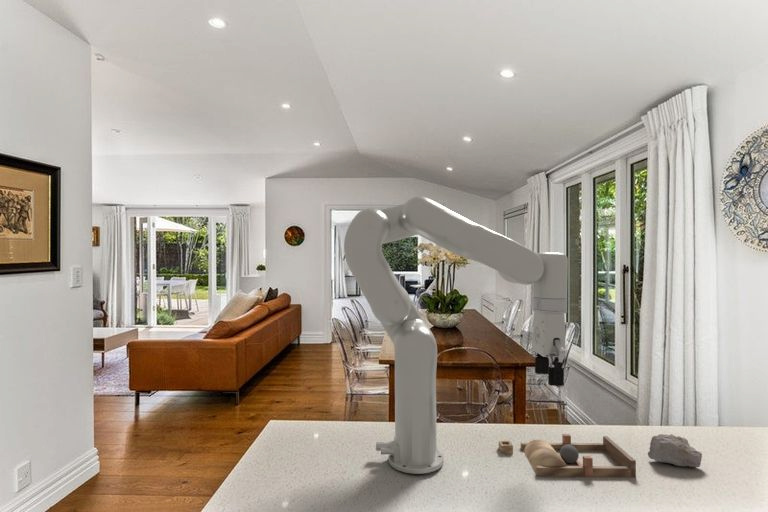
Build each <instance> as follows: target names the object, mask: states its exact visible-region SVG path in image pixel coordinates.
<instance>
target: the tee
mask: <svg viewBox="0 0 768 512" xmlns="http://www.w3.org/2000/svg"><path fill="white" fill-rule="evenodd" d="M498 449H499V451H500V453H501V454H505V455H506V454H514V445H513V443H512V442H511V440H498Z"/></svg>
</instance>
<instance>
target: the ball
mask: <svg viewBox="0 0 768 512" xmlns="http://www.w3.org/2000/svg"><path fill="white" fill-rule="evenodd" d="M559 456H560V457H561V458H562V460H563V461H564V462H565V463H566V464H570V465H571V464H574V463H575V462H576V461H577V460H578V459H579V451H577V449H576V448H575V447H574V446H572V445H564V446H562V447H561V449H560V450H559ZM578 461H579V460H578ZM575 464H576V463H575Z"/></svg>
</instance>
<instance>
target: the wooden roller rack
mask: <svg viewBox="0 0 768 512" xmlns="http://www.w3.org/2000/svg"><path fill="white" fill-rule="evenodd" d="M561 439H562V442H547V441H546V440H543V439H534V440H533V439H532V440H531V441H529V442H520V449H521V451H523V453H524V455H525V456H526V458H527V460H528V462H529V464H530V465H531V467H532V470H533V471H534V473H535V475H536V477H582V478H583V477H586V478H588V477H589V478H594V477H596V478H597V477H598V478H600V477H603V478H604V477H605V478H609V477H611V478H613V477H614V478H615V477H616V478H636V477H637V470H636V469H637V467H636V465H637V461H636V459H634V458H633V457H632V456H631V455H630V454H629V453H627V451H625V450H624V449H623V448H622V447H621V446H619V445H618V444H617V443H616V442H614V441H613V440H612V439H611V438H610V437H608V436H605V435H603V436H602V442H572V435H570V433H562V434H561ZM564 445H572V446H574V447H575V448H576V449H577V451H578V452H579V451H581V452H582V451H583V452H586V451H587V452H591V451H592V452H593V451H594V452H605V453H606V454H607V455H609V456H610V458H611V459H612V460H613V461H614V462H615V463H616V464H617V465H608V466H607V465H605V466H604V465H602V466H601V465H595V466H594V465H593V464H594V463H593V461H594V459H593V457H592V456H591V455H582V463H581V462H580V461H579V460H577V461H576V462H575V465H568V464H567V463H566V462H565V461H563V460H562V458H561V456H560V454H558V452H557V451H560V449H561V447H562V446H564Z"/></svg>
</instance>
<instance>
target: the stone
mask: <svg viewBox="0 0 768 512" xmlns="http://www.w3.org/2000/svg"><path fill="white" fill-rule="evenodd" d="M648 449H649V451H648V453H647V456H648V458H649V459H651V460H653V461H656V462H658V463H666V464H667V463H668V464H672V465H674V466H678V467H691V468H700V466H701V464H702V458H703V454H702V452H701V451H699V450H697V449H695V448H694V447H693V446H691V445H690V443H689V441H688V439H687V438H685V437H682V436H675V435H673V434H671V433H670V434H662V433H661V434H657V435H653V436H652V437H651V439H650V444H649V448H648Z"/></svg>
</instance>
